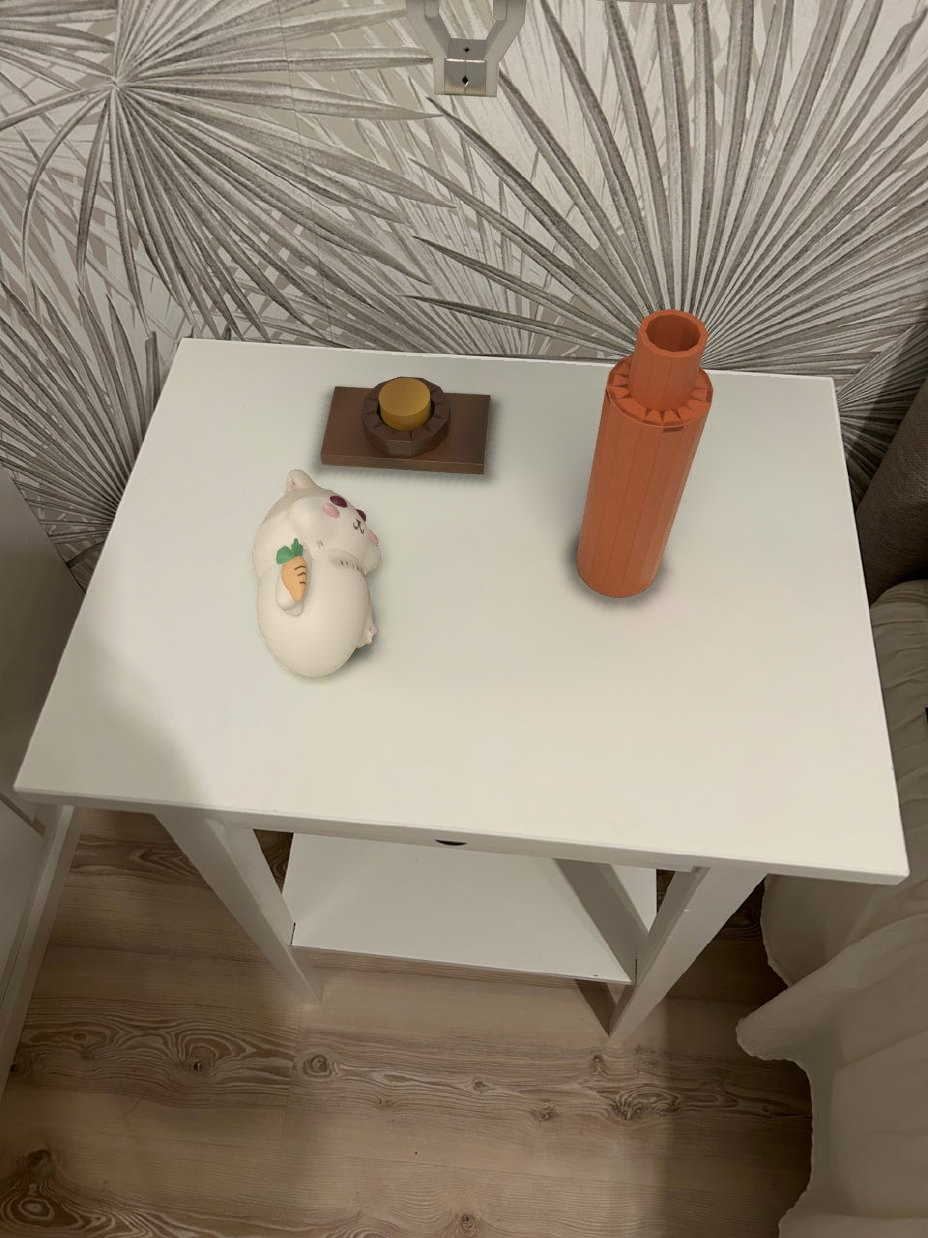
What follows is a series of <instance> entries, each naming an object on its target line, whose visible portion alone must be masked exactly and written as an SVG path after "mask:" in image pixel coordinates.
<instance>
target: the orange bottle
mask: <svg viewBox="0 0 928 1238" xmlns="http://www.w3.org/2000/svg"><path fill="white" fill-rule="evenodd" d="M708 339H709V333H708V331H707V327H706V326H705V323H704V322H703V321H702V320H700V319H699V318H698V317H696V316H695V315H694V314H693V313H690V312H687V311H683V310H678V309H675V308H670V309H669V308H668V309H661V310H660V309H659V310H655V311H653V312H651V313H650V314H648V315H646V316H645V317H644V318H643V319H642V320H641V323H640V325H639V327H638V330H637V334H636V340H635V345H634V348H633V353H631V354H629V355H627V356H625V357H622V358H621V359H619V360H618V361H617V362H616V363H615V365H613V367H612V368H611V369H610V370H609V372H608V376H607V380H606V385H605V390H604V396H603V402H602V408H601V413H600V419H599V424H598V430H597V436H596V442H595V449H594V454H593V459H592V465H591V470H590V476H589V482H588V487H587V492H586V493H587V494H586V499H585V504H584V510H583V517H582V522H581V528H580V533H579V539H578V544H577V550H576V558H575V562H576V563H575V564H576V569H577V572H578V574H579V576H580V578H581V580H583V582H584V583H585V584H586V585H587V586H588V587H589V588H591V590H593V591H595V592H597V593H599V594H601V595H603V596H608V597H612V598H628V597H632V596H635V595H638V594H640V593H642V592H643V591H645V590H646V589H647V588H649V587H650V586H651V585H652V583H653V582H654V580H655V579H656V576H657V574H658V571H659V568H660V566H661V562H662V559H663V556H664V553H665V549H666V548H667V547H666V546H667V544H668V541H669V538H670V534H671V532H672V529H673V525H674V522H675V520H676V515H677V513H678V510H679V507H680V504H681V500H682V497H683V494H684V490H685V488H686V485H687V482H688V480H689V479H688V478H689V476H690V472H691V470H692V467H693V464H694V459H695V457H696V453H697V451H698V447H699V445H700V441H701V438H702V435H703V432H704V428H705V426H706V423H707V419H708V416H709V413H710V410H711V408H712V405H713V404H712V403H713V396H714V391H715V390H714V387H713V384H712V381H711V379H710V376H709V374H708V372H706V371H705V370H704V369H703V367H701V364H702V359H703V357H704V353H705V349H706V346H707V342H708Z"/></svg>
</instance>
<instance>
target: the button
mask: <svg viewBox="0 0 928 1238" xmlns="http://www.w3.org/2000/svg"><path fill="white" fill-rule="evenodd" d="M379 404H380V412H381V417H382V419H383V421H384V422H385V423H386V424H387V425H388V426H389V427H391V428H393V429H396V430H406V431H409V430H413V429H416V428H418V427H421V426H423V425H424V424H425V423H426V422H427V421H428V419H429V418H430V415H431V400H430V392H429V389H428V388H427V386H426V385H425V384H424V383H422V382H421V381H419V380H416V379H413V378H398V379H395V380H392V381H390V382H388V383H387V384H386V385H385V386H384V387H383V388H382V389H381V391H380V393H379Z"/></svg>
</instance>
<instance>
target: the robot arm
mask: <svg viewBox="0 0 928 1238" xmlns="http://www.w3.org/2000/svg"><path fill="white" fill-rule="evenodd" d="M597 1H599V2H601V1H602V2H620V3H621V2H622V3H640V4H641V3H644V4H665V5H689V4H692V3H693V2H695V0H597ZM441 2H442V0H405V13H406V14H405V15H406V19H407V21H408V23H409V24H410V26H411V27H412V30H413V31H414V33H415V34H416V36H417V38H418V40H419V42H420V43H421V45H422V46H423V48H424V50H425V52H426V53H427V55H428V57H429V58H430V59H432V68H433V69H432V71H433V72H432V73H433V74H432V75H433V94H434V95H435V96H453V97H454V96H458V97H460V96H461V97H477V98H479V97H480V98H497V96H498V88H499V77H500V62H501V61H502V60H503V59H504V57H505V55H506V53H508V51H509V49H510V48H511V45H512V44H513V42H514V41H515V39H516V38H517V37H518V35H519V33H520V31H521V30H522V28H523V27H524V25H525V23H526V13H527V12H526V10H527V0H492V19H493V20H494V23H493V25H492V27H491V29H490V31H489V32H488V33H487V36H486V38H485V39H471V38H469V39H468V38H455V37H451V34H450V33H449V30H448V28H447V27H446V26H447V25H445V22H444V21H443V19H442V17H441V15H440V9H441V8H440V7H441Z"/></svg>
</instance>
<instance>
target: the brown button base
mask: <svg viewBox="0 0 928 1238" xmlns="http://www.w3.org/2000/svg"><path fill="white" fill-rule="evenodd" d="M398 378H413V379H416V380H419V381H421V382H422V383H424V384H425V385H426V386H427V388H428V389H429V392H430V400H431V415H430V418H429V419H428V421H427V422H426V423H425V424H424V425H423V426H421V427H418V428H416V429H413V430H409V431H406V430H396V429H393V428H391V427H389V426H388V425H387V424H386V423H385V422H384V421H383V419H382V417H381V412H380V404H379V393H380V391H381V389H382V388H383V387H384V386H385V385H386V384H387V383H388V382H390V381H392V380H395V379H398ZM491 400H492V396H491V395H490V394H482V393H481V394H480V393H463V392H444V390H443V388H441V386H440V385H437V384H435V383H434V382H431V381H429V380H427V379H426V378H424V377H418V376H397V377H393V378H391V379H388V380H385V381H382V382H380V383H377V385H375V386H374V387H361V386H359V387H358V386H340V385H335V386H334V389H333V394H332V398H331V403H330V408H329V412H328V416H327V421H326V426H325V431H324V435H323V440H322V443H321V449H320V454H319V456H320V460H321V464H322V465H323V466H325V465H326V466H341V467H342V466H343V467H357V468H373V469H377V468H378V469H389V470H407V471H423V472H439V473H454V474H455V473H456V474H470V475H471V474H472V475H484V474H485V465H486V457H487V456H486V455H487V444H488V436H489V424H490V415H491Z"/></svg>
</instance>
